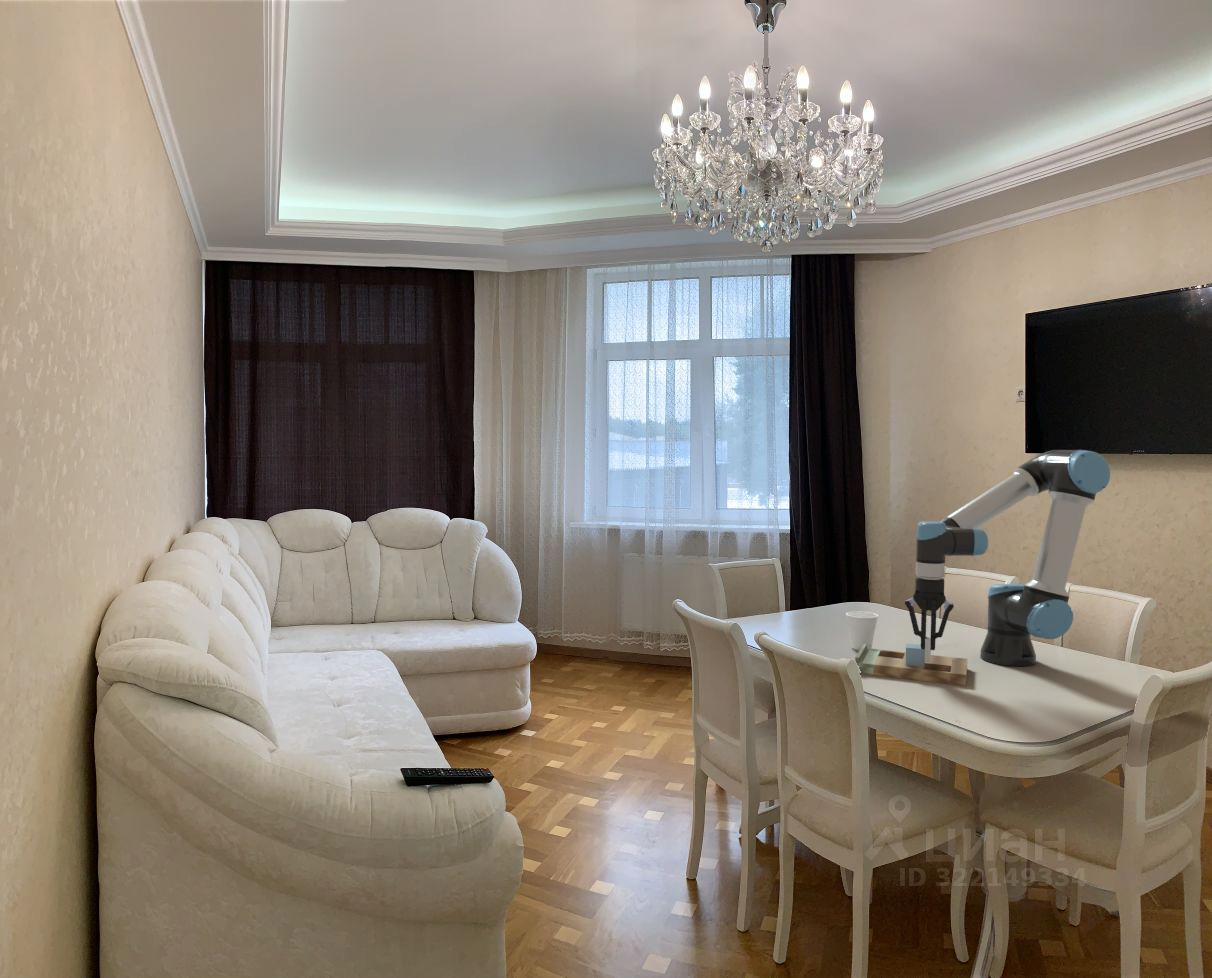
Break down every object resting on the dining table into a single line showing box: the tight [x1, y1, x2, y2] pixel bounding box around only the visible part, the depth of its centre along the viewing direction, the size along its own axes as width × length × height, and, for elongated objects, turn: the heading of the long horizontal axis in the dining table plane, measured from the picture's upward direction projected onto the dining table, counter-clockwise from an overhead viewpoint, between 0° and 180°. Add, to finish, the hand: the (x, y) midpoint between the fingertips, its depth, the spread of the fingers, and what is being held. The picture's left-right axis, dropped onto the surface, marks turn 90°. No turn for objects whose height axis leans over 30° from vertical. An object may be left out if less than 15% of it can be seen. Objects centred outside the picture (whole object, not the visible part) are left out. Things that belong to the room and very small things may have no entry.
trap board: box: [854, 643, 968, 687], centre depth 237 cm, size 29×18×4 cm, turn 66°
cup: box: [845, 610, 879, 651], centre depth 262 cm, size 10×10×11 cm
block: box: [905, 643, 925, 667], centre depth 234 cm, size 5×5×5 cm
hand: (927, 660), depth 231 cm, fingers closed
